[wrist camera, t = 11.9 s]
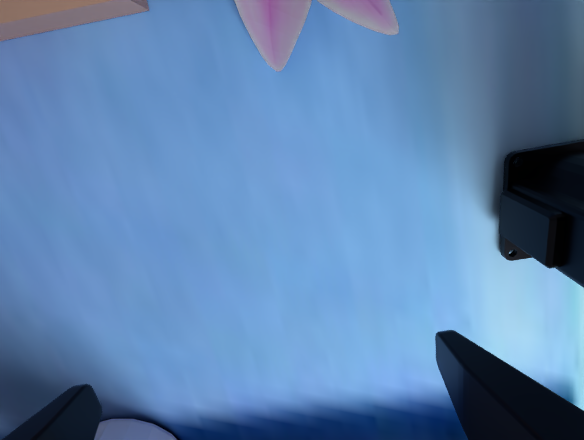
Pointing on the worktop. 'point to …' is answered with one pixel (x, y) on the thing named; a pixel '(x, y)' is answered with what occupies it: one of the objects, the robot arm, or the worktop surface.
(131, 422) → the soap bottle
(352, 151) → the worktop surface
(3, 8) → the holder
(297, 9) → the lily
